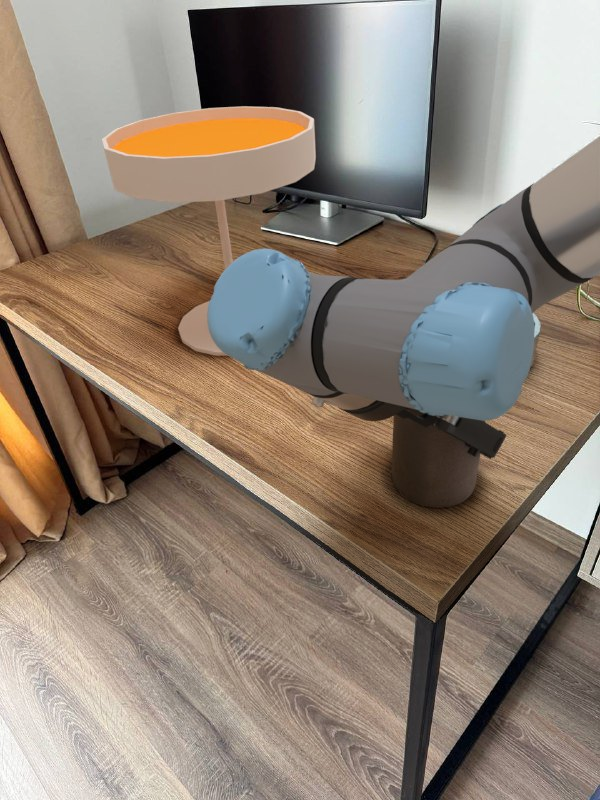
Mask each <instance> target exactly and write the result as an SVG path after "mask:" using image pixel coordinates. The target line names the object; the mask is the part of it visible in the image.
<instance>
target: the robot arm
mask: <svg viewBox="0 0 600 800" xmlns="http://www.w3.org/2000/svg"><path fill="white" fill-rule="evenodd" d="M599 275H600V133H599V134H598V135H597V136H595V137H594V138H592V139H591V140H589V141H588V142H586V144H584V145H583V146H581V147H580V148H578V149H577V150H576V151H574V152H573V153H572V154H570V155H569V156H567V157H566V158H565V159H563V160H562V161H560V162H559V163H558V164H557V165H555V166H554V167H552V168H551V169H550V170H548V171H547V172H545V173H544V174H543V175H542V176H540V177H538V178H537V179H536V180H535V181H534V182H533V183H532V184H530V185H529V186H527V187H526V188H523V190H521V191H518V193H517V194H515V195H514V196H512V197H511V198H510V199H508V200H507V201H506V202H504V203H501V204H498V205H497V206H495V207H494V208H492V209H491V210H490V211H488V212H487V213H485V214H484V215H483V216H482V217H480V218H479V219H478V220H477V221H476V222H475V223H474V224H472V226H471V227H470V228H469V229H467V230H466V231H465V232H464V233H463V234H462V235H460V236H458V238H456V239H455V240H454V241H452V243H450V244H449V245H447V246H446V247H444V248H443V249H442V250H441V251H440V252H438V253H437V254H435V255H434V256H433V257H431V258H430V259H429V260H428V261H426V262H425V263H424V264H423V265H421V266H420V267H419V268H417V269H416V270H415V271H414V272H412V273H410V275H408V276H407V277H405V278H402V279H384V278H383V279H382V278H365V277H352V276H343V275H342V276H341V275H326V274H317V273H313V272H311V271H309V270H307V269H306V267H305V265H304V263H302V262H301V261H299V260H298V259H297V258H291V257H289V256H288V255H286V254H284V253H283V252H281V251H280V250H279V251H278V250H275V249H272V248H259V249H257V248H256V249H254V250H253V249H252V250H250V251H248V252H245V253H244V254H242V255H240V256H239V257H237V258H236V259H234V260H233V262H232V263H231V264H230V265H229V266H228V267H227V268H226V269H225V268H224V270H223V272H222V273H221V274H220V276H219V277H218V279H217V280H216V282H215V285H214V287H213V294H211V298H210V300H209V301H210V302H209V304H208V313H207V322H208V328H209V332H210V335H211V337H212V339H213V341H214V343H215V344H216V346H217V347H218V348H219V349H220V350H221V351H222V352H224V353H225V354H227V356H229V357H230V358H232V359H234V360H236V361H237V362H238V363H240V364H242V365H243V366H244V368H245V369H247V370H249V371H256V372H259V373H261V374H264V375H266V376H268V377H271V378H273V379H275V380H277V381H279V382H282V383H284V384H287V385H288V386H291V387H294V388H295V389H297V390H300V391H301V392H304V393H306V394H308V395H309V396H312V397H313V398H312V400H311V404H312V405H313V406H314V407H316V408H322V407H323V406H324V404H325V403H326V404H329V405H331V406H333V407H336V408H338V409H339V410H341V411H343V412H344V413H347V414H349V415H350V416H353V417H356V418H357V419H360V420H362V421H366V422H381V421H385V420H387V419H390V418H393V417H394V415H397V416H399V417H401V418H404V419H405V418H409V419H411V420H412V421H414V422H416V423H418V424H420V425H422V426H424V427H428V426H430V425H433V426H435V427H437V429H439V430H441V431H444V432H446V433H448V434H450V435H451V436H453V437H455V438H457V439H459V440H461V441H463V442H464V443H465V444H464V445H466V446H468V447H470V448H469V450H468V451H467V453H469V454H471V455H472V456H474V457H477V455H478V453H481V454H480V455H482V456H484V457H486V458H488V459H489V460H491V459H494V458H496V456H497V454H498V453H499V451H500V449H501V447H502V445H503V443H504V441H505V440H506V438H507V434H506V433H505V432H504V431H502V430H500V429H497V428H495V427H494V426H492V425H490V424H489V423H487V421H492V420H496V419H499V418H500V417H503V416H504V415H506V414H507V413H508V412H509V411H510V410H511V409H512V408H513V407H514V406H515V404H516V403H517V401H518V400H519V398H520V396H521V393H522V388H523V384H524V382H525V381H526V380H527V379H528V377H529V376H528V375H529V373H530V369H531V368H530V366H531V361H532V355H533V348H534V330H535V329H534V319H533V313H534V314H535V312H536V311H537V310H538V309H539V308H541V307H543V306H545V304H548V303H549V302H551V301H553V300H555V299H557V298H559V297H560V296H562V295H564V294H566V293H569V292H570V291H572V290H575V289H576V288H578V287H580V286H582V285H583V284H585V283H587V282H589V281H591V280H592V279H594V278H596V277H597V276H599ZM531 367H532V366H531ZM406 410H407V411H409V412H411V413H413V414H416V415H419V416H415V415H413V414H411V413H409V412H407V411H406ZM484 421H485V422H484Z"/></svg>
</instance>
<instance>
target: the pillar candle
mask: <svg viewBox="0 0 600 800" xmlns="http://www.w3.org/2000/svg"><path fill="white" fill-rule="evenodd" d="M406 411H407V410H406ZM407 412H409V411H407ZM409 413H411V412H409ZM411 414H413V413H411ZM413 415H415V416H419V415H416V414H413ZM392 420H393V422H392V423H393V424H392V425H393V426H392V443H391V444H392V450H391V451H392V452H391V474H390V478H391V482H392V486H393V487H394V488H395V490H396V491H397V492H398V493H399V494H400V496H402V497H403V498H404V499H405V500H406V501H409V502H410V503H413V504H416V505H418V506H421V507H427V508H432V509H433V508H435V509H440V508H441V509H442V508H443V509H444V508H451V507H454V506H457V505H459V504H462V503H464V502H465V501H466V500H468V499H469V497H471V495H472V494H473V492H474V491H475V488H476V485H477V480H478V474H479V473H478V471H479V466H480V459H481V455H482V454H481V453H478V455H477V457H474V456H472V455H471V454H469V453H467V451H468V450H469V448H470V447H468V446H466V445H464V444H465V443H464V442H463V441H461V440H459V439H457V438H455V437H453V436H451V435H450V434H448V433H446V432H444V431H441V430H439V429H437V427H435V426H433V425H430V426H428V427H424V426H422V425H420V424H418V423H416V422H414V421H412V420H411V419H409V418H405V419H404V418H401V417H399V416H397V415H394V416H393V419H392ZM484 422H486V421H484Z"/></svg>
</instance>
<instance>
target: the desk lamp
mask: <svg viewBox="0 0 600 800" xmlns="http://www.w3.org/2000/svg"><path fill="white" fill-rule="evenodd" d="M315 132H316V131H315V118H314V117H312V116H310V115H308V114H306V113H304V112H302V111H301V110H300V111H299V110H295V109H289V108H288V109H287V108H282V107H275V106H269V107H268V106H246V105H245V106H243V105H242V106H228V107H227V106H226V107H208V108H201V109H200V108H199V109H194V110H185V111H179V112H178V111H177V112H171V113H166V114H162V115H158V116H154V117H148V118H144V119H140V120H136V121H133V122H132V123H128V124H126V125H123V126H121V127H118V128H115V129H113V130H112V131H111V132H109V133H108V134H107V135H106V136H104V137H103V138H101V142H102V146H103V149H104V154H105V159H106V163H107V166H108V169H109V170H108V171H109V174H110V178H111V183H112V186H113V189H114V191H116V192H118V193H120V194H123V195H126V196H128V197H130V198H133V199H135V200H142V201H153V202H160V203H161V202H162V203H170V204H173V203H174V204H176V203H178V204H179V203H200V202H201V203H202V202H214V204H215V211H216V212H215V213H216V217H217V218H216V219H217V225H218V232H219V237H220V244H221V253H222V258H223V266H224V270H225V269H226V268H227V267H228V266H229V265H230V264H231V263H232V262H233V261H234V259H233V254H232V253H233V252H232V246H231V245H232V244H231V239H230V232H229V223H228V216H227V209H226V203H225V200H231V199H236V198H242V197H243V198H244V197H248V196H254V195H260V194H261V195H262V194H264V193H267V192H270V191H273V190H276V189H279V188H282V187H285V186H288V185H291V184H294V183H297V182H298V181H300V180H301V179H303V178H304V177H306V176H307V175H308V174H310V173H311V172H313V171H314V170H315V165H316V157H317V155H316V153H317V151H316V133H315ZM209 302H210V300H208V301H206V302H204V303H200V304H198V305H196V306H194V307H193V308H192V309H190V311H188V312H187V313H186V314H184V315H183V316H182V318H181V321H180V323H179V325H178V327H177V329H178V333H179V336H180V339H181V343H183V344H184V345H185V346H187V347H189V348H191V350H193V351H195V352H198V353H202V354H207V355H211V356H216V357H219V356H228V355H227V354H225V353H224V352H222V351H221V350H220V349H219V348H218V347H217V346H216V344H215V343H214V341H213V339H212V337H211V335H210V332H209V328H208V322H207V313H208V304H209Z"/></svg>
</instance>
